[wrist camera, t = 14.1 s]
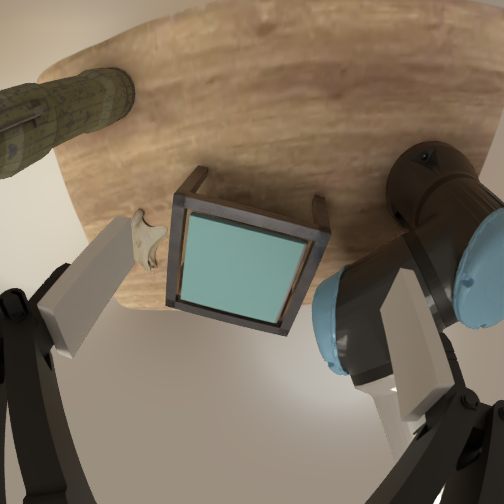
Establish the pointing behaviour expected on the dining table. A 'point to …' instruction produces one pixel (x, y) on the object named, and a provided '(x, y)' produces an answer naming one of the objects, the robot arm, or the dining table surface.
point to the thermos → (58, 113)
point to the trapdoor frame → (253, 216)
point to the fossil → (146, 241)
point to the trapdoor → (239, 267)
